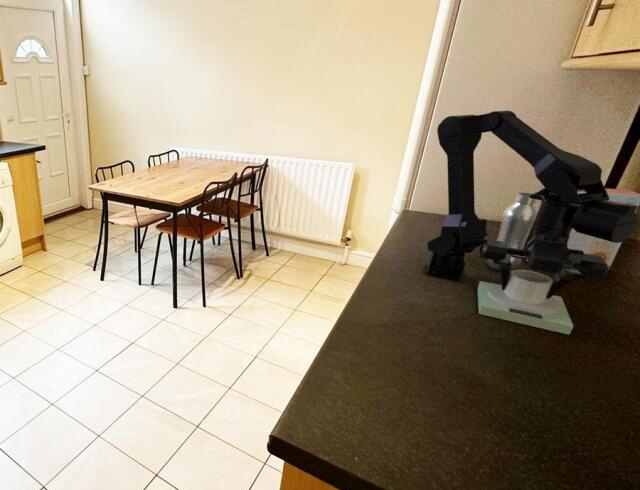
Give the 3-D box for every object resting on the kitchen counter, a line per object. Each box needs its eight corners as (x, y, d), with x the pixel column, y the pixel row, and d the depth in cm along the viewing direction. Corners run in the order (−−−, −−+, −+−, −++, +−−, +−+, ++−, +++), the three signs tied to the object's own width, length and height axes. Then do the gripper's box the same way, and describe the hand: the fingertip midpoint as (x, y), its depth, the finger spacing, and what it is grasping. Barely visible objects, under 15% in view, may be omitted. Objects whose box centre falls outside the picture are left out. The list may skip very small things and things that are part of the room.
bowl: (504, 299, 89) (512, 278, 87) (502, 287, 93) (509, 267, 91) (546, 308, 85) (555, 286, 83) (541, 295, 90) (550, 274, 88)
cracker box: (593, 267, 107) (631, 188, 98) (606, 277, 102) (646, 195, 93) (524, 259, 112) (553, 184, 104) (533, 268, 107) (564, 190, 99)
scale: (478, 314, 89) (482, 302, 88) (477, 288, 99) (481, 277, 98) (569, 335, 81) (575, 322, 80) (558, 304, 91) (562, 293, 90)
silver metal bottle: (489, 272, 106) (517, 197, 98) (480, 262, 112) (505, 190, 104) (521, 276, 104) (552, 199, 96) (510, 265, 109) (538, 191, 101)
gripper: (494, 228, 82) (470, 297, 88) (633, 247, 71) (595, 324, 78) (491, 213, 90) (469, 277, 96) (616, 229, 80) (582, 299, 86)
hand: (524, 293), depth 89 cm, fingers open, 7 cm apart
